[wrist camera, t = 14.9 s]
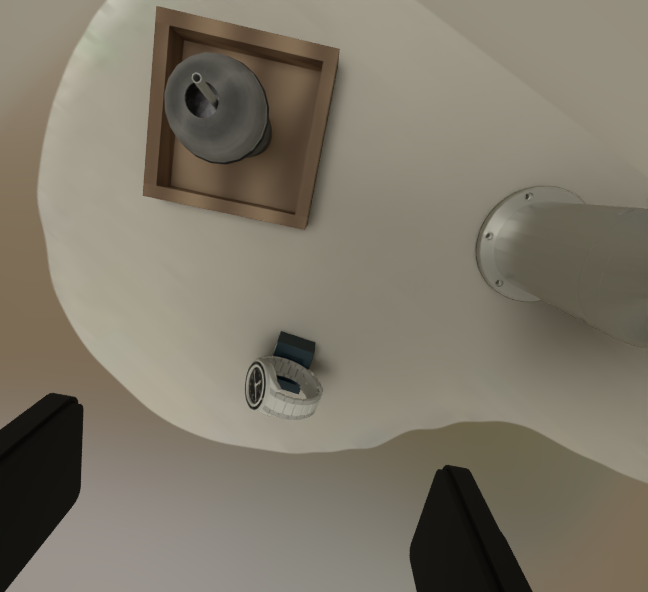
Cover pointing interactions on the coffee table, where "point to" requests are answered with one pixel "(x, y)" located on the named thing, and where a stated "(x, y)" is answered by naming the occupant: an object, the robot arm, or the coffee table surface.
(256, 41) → the walnut tray
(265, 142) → the beverage cup
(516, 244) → the robot arm
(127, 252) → the coffee table surface
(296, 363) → the watch
